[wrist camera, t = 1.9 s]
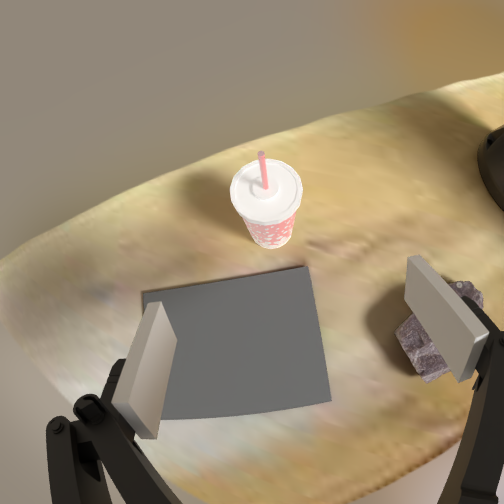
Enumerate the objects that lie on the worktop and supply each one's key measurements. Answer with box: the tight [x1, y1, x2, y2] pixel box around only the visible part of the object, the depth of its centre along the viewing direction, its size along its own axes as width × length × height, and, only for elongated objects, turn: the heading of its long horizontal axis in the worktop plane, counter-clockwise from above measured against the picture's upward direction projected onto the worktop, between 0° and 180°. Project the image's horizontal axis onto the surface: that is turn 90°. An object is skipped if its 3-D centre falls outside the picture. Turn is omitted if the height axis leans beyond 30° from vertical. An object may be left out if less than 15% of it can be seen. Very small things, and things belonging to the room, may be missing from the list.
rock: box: [394, 281, 483, 384], centre depth 27 cm, size 8×11×5 cm
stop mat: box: [143, 266, 332, 420], centre depth 30 cm, size 18×14×1 cm
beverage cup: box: [230, 151, 303, 249], centre depth 28 cm, size 6×6×14 cm
